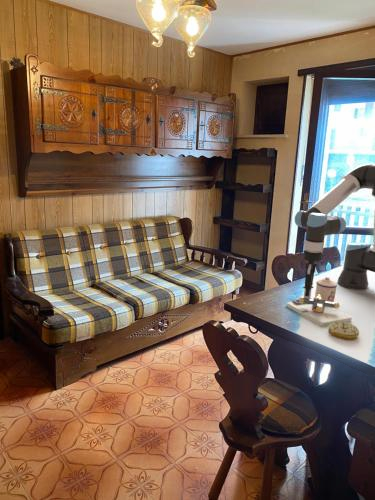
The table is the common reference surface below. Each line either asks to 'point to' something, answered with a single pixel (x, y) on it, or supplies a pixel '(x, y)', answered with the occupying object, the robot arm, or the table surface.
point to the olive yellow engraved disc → (344, 330)
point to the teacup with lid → (326, 289)
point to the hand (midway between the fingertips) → (306, 302)
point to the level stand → (323, 318)
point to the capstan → (319, 303)
